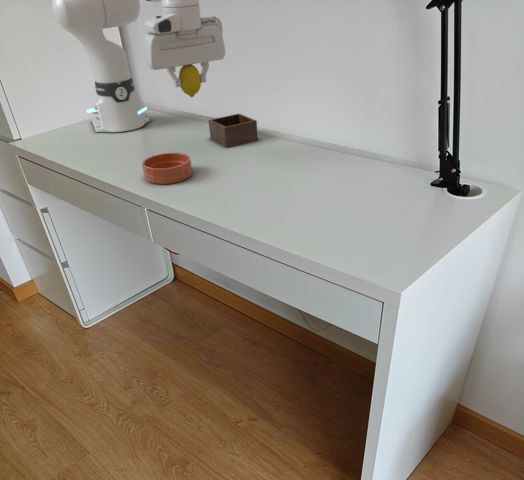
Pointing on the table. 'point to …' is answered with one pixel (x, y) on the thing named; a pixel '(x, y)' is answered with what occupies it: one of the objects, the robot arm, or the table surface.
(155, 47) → the robot arm
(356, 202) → the table surface
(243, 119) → the holder
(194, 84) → the lemon
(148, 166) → the bowl
